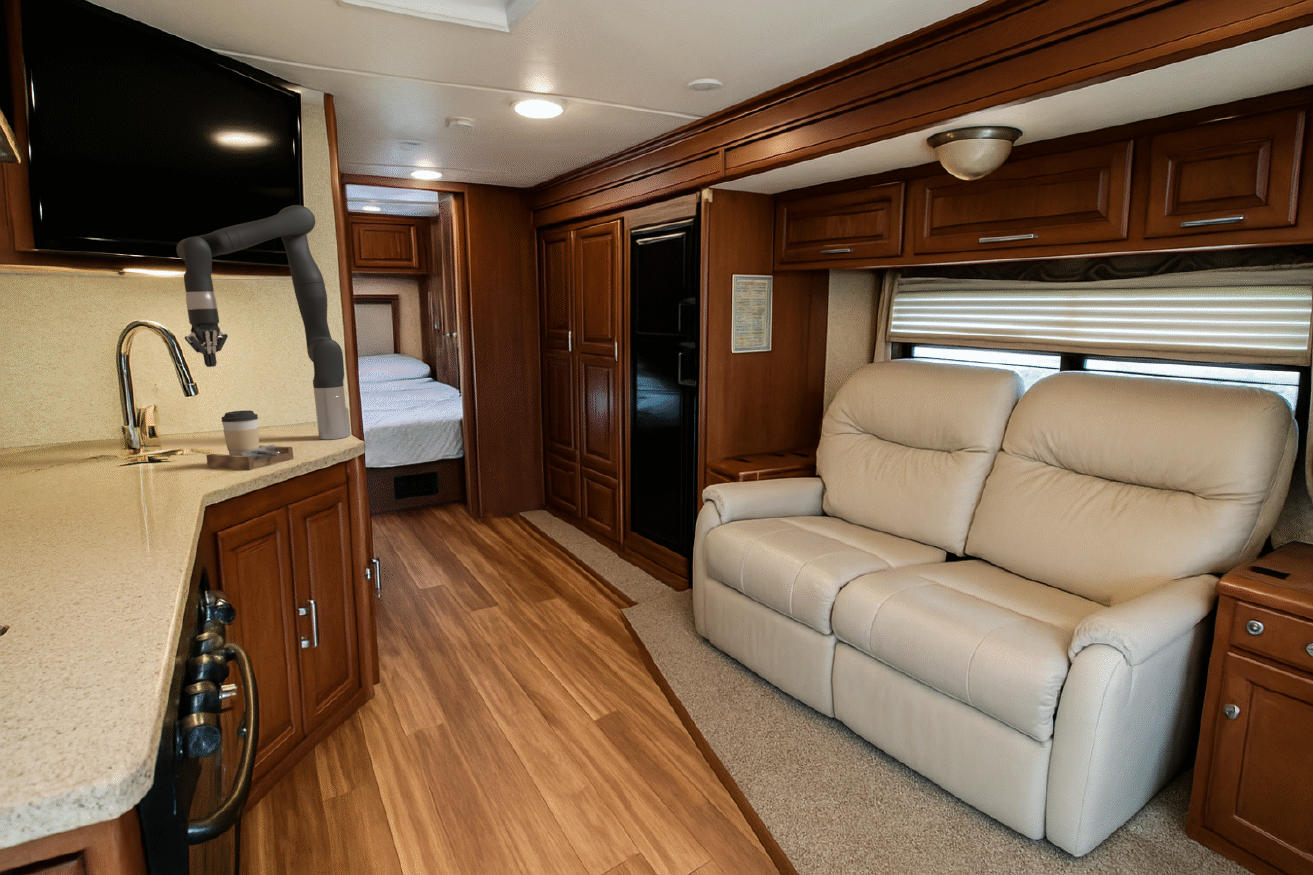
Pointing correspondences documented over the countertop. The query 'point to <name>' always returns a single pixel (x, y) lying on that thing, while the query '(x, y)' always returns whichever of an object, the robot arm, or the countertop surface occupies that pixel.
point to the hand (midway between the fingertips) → (211, 366)
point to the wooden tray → (248, 460)
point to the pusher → (261, 452)
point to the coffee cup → (240, 431)
